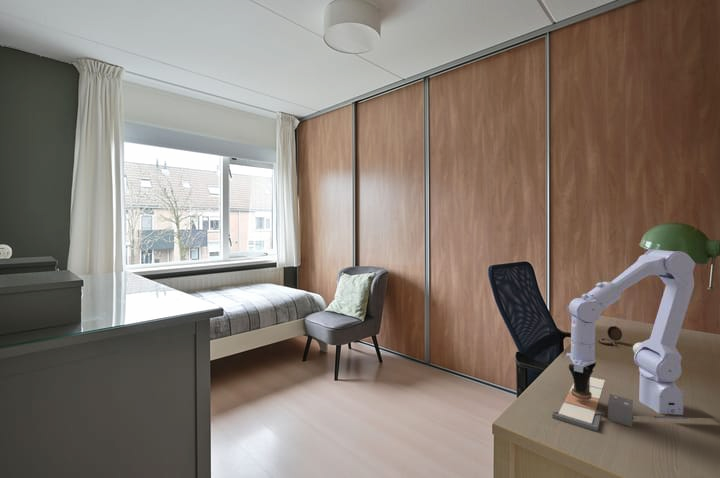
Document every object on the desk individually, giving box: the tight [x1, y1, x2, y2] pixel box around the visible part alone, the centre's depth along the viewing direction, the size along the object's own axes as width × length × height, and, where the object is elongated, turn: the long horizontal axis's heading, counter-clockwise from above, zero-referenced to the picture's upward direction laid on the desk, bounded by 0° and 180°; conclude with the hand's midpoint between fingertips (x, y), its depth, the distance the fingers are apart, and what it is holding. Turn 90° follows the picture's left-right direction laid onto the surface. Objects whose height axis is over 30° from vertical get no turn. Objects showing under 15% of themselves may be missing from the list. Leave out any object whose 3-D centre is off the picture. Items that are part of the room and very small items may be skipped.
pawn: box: [572, 366, 593, 400], centre depth 100 cm, size 5×5×9 cm
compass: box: [597, 325, 623, 346], centre depth 150 cm, size 8×8×7 cm
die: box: [607, 394, 634, 428], centre depth 92 cm, size 5×5×5 cm
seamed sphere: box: [628, 341, 643, 354], centre depth 136 cm, size 8×6×6 cm
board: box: [551, 376, 606, 432], centre depth 103 cm, size 33×10×1 cm, turn 140°
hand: (582, 388), depth 100 cm, fingers closed on pawn, 4 cm apart
